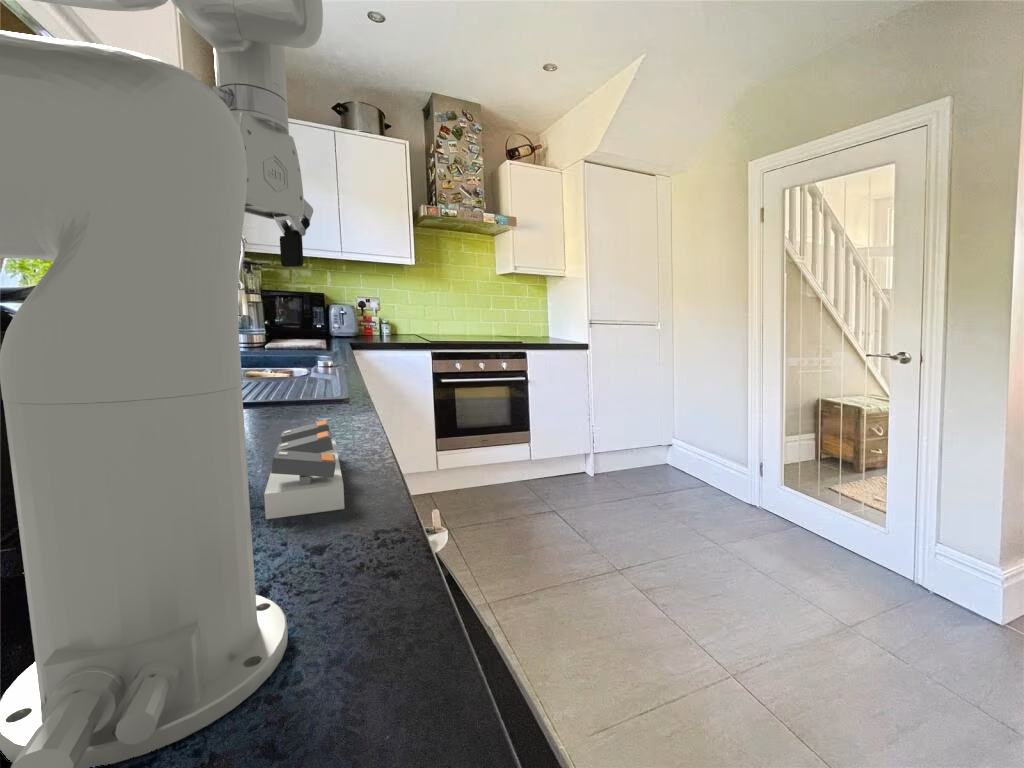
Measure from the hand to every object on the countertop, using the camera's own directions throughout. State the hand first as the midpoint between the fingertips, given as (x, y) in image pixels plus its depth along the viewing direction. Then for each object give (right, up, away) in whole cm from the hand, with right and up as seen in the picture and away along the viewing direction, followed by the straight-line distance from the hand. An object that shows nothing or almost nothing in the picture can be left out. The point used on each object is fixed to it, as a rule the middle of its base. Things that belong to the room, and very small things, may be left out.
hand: (262, 261), depth 60 cm
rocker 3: (+9, -24, -8) cm, 27 cm away
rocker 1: (+3, -22, +6) cm, 23 cm away
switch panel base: (+6, -27, -1) cm, 28 cm away
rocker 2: (+6, -23, -1) cm, 24 cm away
